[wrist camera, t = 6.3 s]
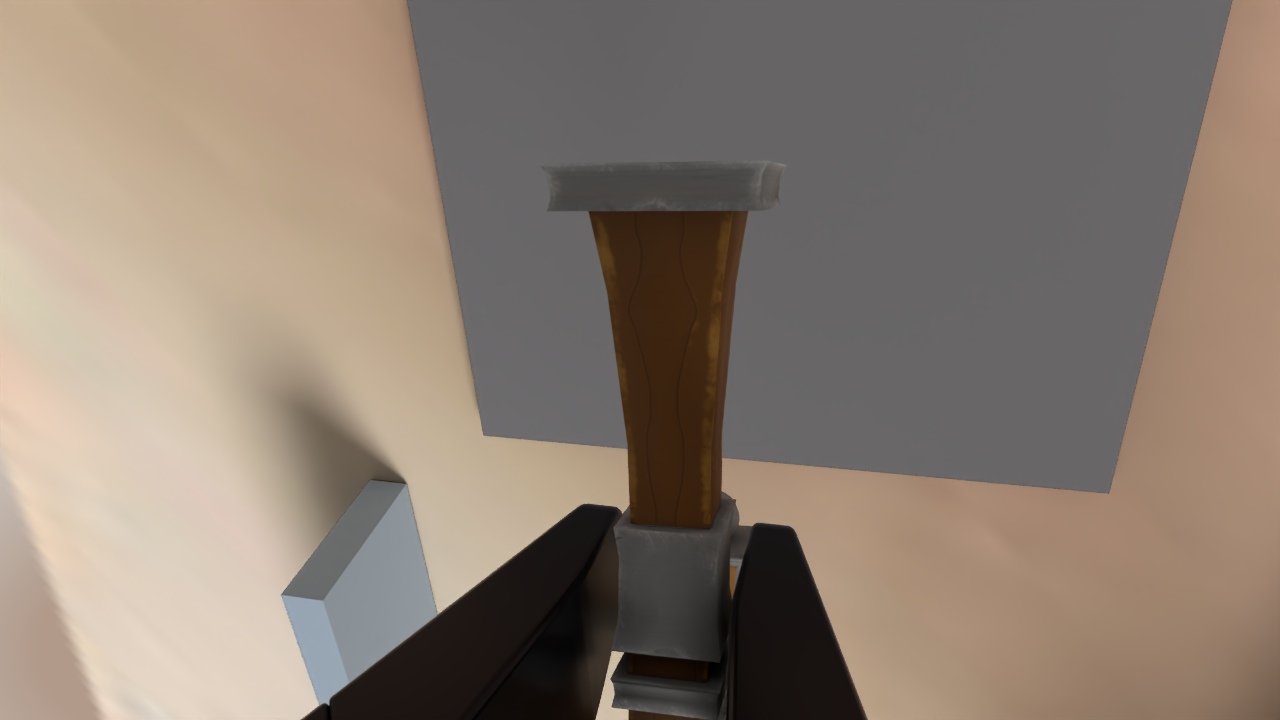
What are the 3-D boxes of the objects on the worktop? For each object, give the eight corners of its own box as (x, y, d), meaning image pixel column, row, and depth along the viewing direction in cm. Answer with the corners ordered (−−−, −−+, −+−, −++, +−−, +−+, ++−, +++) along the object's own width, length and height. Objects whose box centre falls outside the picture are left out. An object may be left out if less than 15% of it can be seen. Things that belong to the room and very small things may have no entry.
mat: (1261, -156, 13) (1270, -155, 12) (1105, 481, 18) (1109, 493, 18) (398, -111, 16) (387, -108, 15) (489, 425, 21) (483, 435, 21)
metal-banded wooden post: (657, 758, 13) (555, 1049, 9) (653, 170, 11) (528, 162, 7) (788, 776, 12) (750, 1090, 8) (802, 169, 11) (766, 159, 7)
